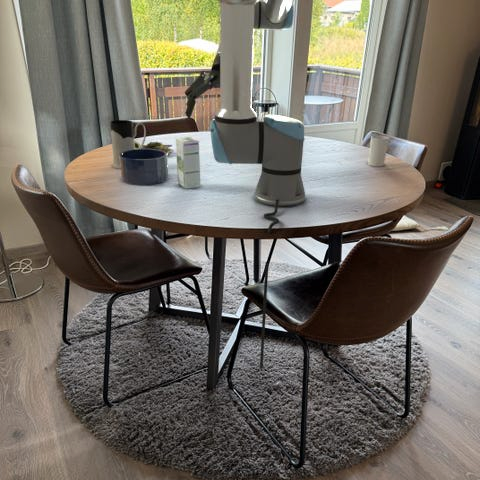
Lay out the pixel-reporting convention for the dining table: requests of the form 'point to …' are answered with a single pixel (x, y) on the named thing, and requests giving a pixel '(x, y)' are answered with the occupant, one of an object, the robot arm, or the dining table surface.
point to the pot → (144, 166)
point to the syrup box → (188, 162)
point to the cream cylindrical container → (378, 150)
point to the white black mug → (123, 138)
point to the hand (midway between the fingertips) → (206, 117)
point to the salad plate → (155, 147)
